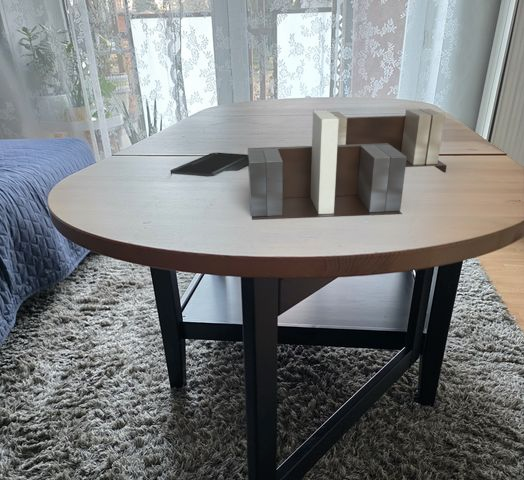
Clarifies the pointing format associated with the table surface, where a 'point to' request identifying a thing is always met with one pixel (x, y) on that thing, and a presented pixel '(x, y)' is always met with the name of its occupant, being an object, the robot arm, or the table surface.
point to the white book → (324, 161)
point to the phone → (212, 164)
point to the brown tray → (398, 134)
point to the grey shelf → (346, 187)
